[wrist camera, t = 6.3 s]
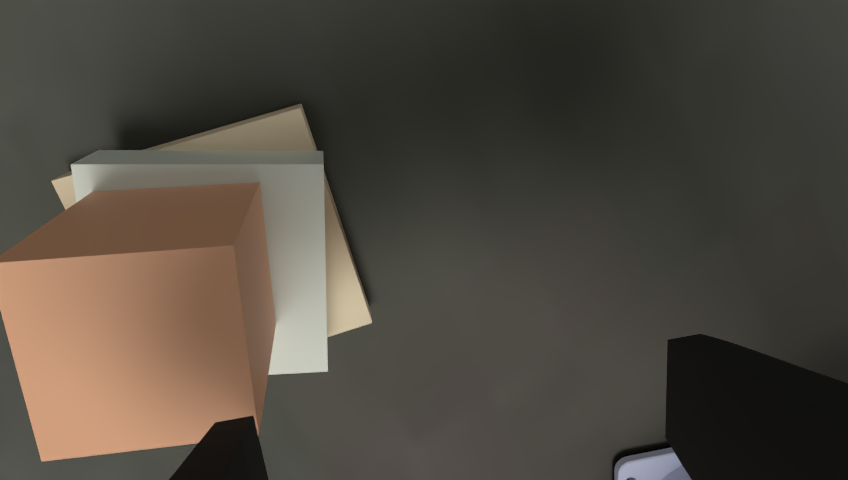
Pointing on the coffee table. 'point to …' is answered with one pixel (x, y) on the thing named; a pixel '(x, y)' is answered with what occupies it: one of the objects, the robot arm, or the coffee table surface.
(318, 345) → the top slab
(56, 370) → the block
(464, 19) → the coffee table surface
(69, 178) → the bottom slab
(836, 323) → the coffee table surface
